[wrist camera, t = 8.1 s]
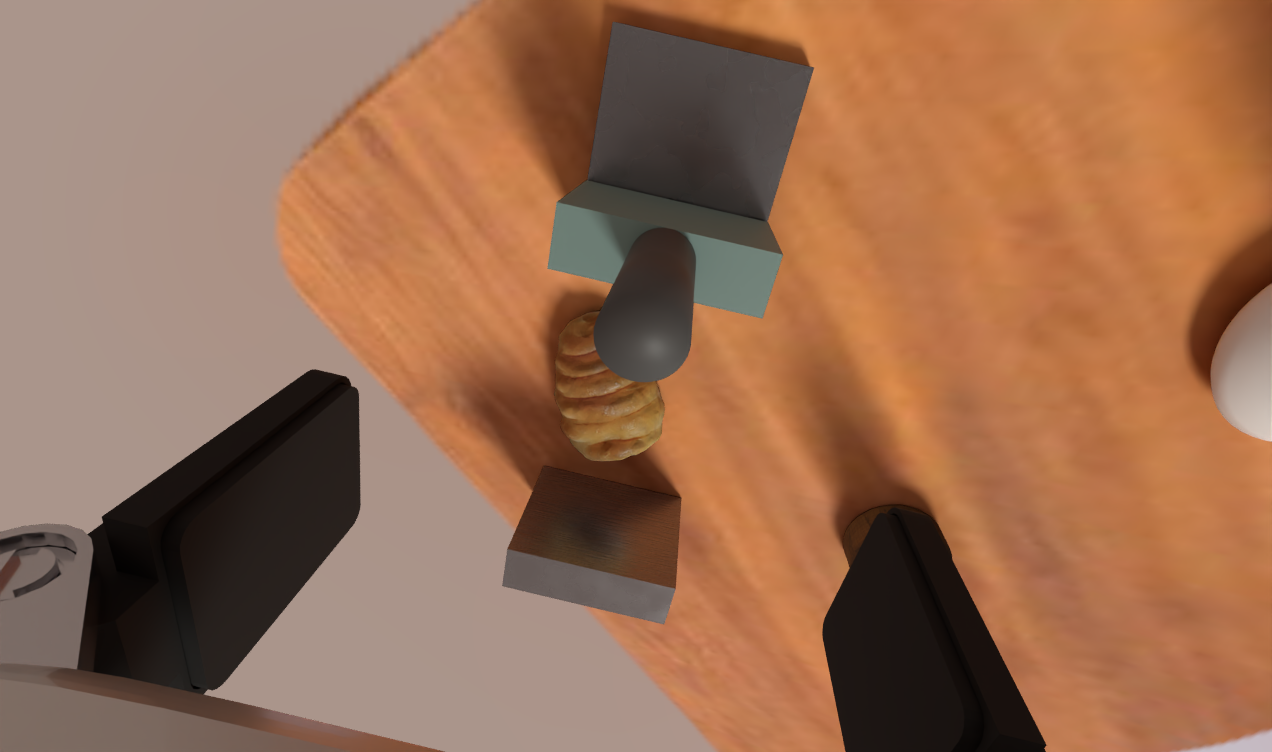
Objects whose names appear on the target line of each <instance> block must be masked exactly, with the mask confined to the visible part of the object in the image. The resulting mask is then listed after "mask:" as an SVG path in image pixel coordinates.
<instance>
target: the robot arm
mask: <svg viewBox="0 0 1272 752" xmlns="http://www.w3.org/2000/svg"><path fill="white" fill-rule="evenodd" d="M359 510H360V440H359V393H358V390H357V389H356V388H355V387H352V386H351V383H350V381H349V379H348V378H347V377H345V376H341V375H337V374H333V373H328V372H324V371H320V370H310V371H308V372H306V373H305V374H304V375H302V376H301V377H299V378H298V379H297V380H295V381H294V382H292V383H291V384H289V385H288V386H286V387H285V388H284V389H282V390H281V391H279V392H278V393H277V394H275V395H274V396H272V397H271V398H269V399H268V400H267V401H265V402H264V403H262V404H261V405H260V406H258V407H257V408H255V409H254V410H252V411H251V412H250V413H248V414H247V415H245V416H244V417H243V418H241V419H240V420H239V421H237V422H235V423H234V424H233V425H231V426H230V427H228V428H227V429H226V430H224V431H223V432H221V433H220V434H218V435H217V436H216V437H214V438H213V439H211V440H210V441H209V442H207V443H206V444H204V445H203V446H201V447H200V448H199V449H197V450H196V451H195V452H193V453H192V454H190V455H189V456H187V457H186V458H185V459H183V460H182V461H180V462H179V463H177V464H176V465H175V466H173V467H172V468H171V469H169V470H167V471H166V472H165V473H163V474H162V475H160V476H159V477H157V478H156V479H155V480H153V481H152V482H151V483H149V484H148V485H146V486H145V487H143V488H142V489H140V490H139V491H138V492H136V493H135V494H133V495H132V496H131V497H129V498H128V499H126V500H125V501H123V502H122V503H121V504H119V505H118V506H116V507H115V508H114V509H112V510H111V511H109V512H108V513H106V514H105V515H104V516H102V520H103V524H101V525H100V526H99V527H97V528H96V529H94V530H93V531H92V532H90V533H89V534H86V533H85V532H84V531H83V530H81V529H78V528H75V527H72V526H69V525H60V524H39V525H29V526H22V527H18V528H14V529H10V530H6V531H2V532H0V752H443V751H440V750H435V749H431V748H427V747H423V746H419V745H415V744H410V743H406V742H402V741H398V740H394V739H390V738H386V737H381V736H377V735H373V734H368V733H365V732H360V731H356V730H352V729H348V728H344V727H340V726H335V725H331V724H327V723H323V722H319V721H314V720H310V719H306V718H302V717H298V716H294V715H289V714H285V713H280V712H277V711H272V710H268V709H264V708H260V707H256V706H252V705H247V704H243V703H239V702H234V701H229V700H225V699H221V698H216V697H211V696H207V695H203V694H204V693H205V692H206V691H207V690H208V689H209V690H215V689H217V688H218V687H220V686H221V685H222V684H223V683H224V682H225V681H226V680H227V679H228V678H229V676H230V675H231V674H232V673H233V671H234V670H235V669H236V668H237V667H238V665H239V664H240V663H241V662H242V660H243V659H244V658H245V657H246V656H247V654H248V653H249V652H250V651H251V649H252V648H253V647H254V646H255V644H256V643H257V642H258V641H259V640H260V638H261V637H262V636H263V635H264V634H265V632H266V631H267V630H268V629H269V627H270V626H271V625H272V624H273V623H274V621H275V620H276V619H277V618H278V616H279V615H280V614H281V613H282V612H283V610H284V609H285V608H286V607H287V605H288V604H289V603H290V602H291V601H292V599H293V598H294V597H295V596H296V594H297V593H298V592H299V591H300V590H301V588H302V587H303V586H304V585H305V583H306V582H307V581H308V580H309V579H310V577H311V576H312V575H313V574H314V572H315V571H316V570H317V568H318V567H319V566H320V565H321V564H322V563H323V561H324V560H325V559H326V557H327V556H328V555H329V554H330V553H331V552H332V550H333V549H334V548H335V547H336V545H337V544H338V543H339V542H340V541H341V539H342V538H343V537H344V536H345V534H346V533H347V532H348V531H349V529H350V528H351V527H352V526H353V524H354V523H355V521H356V519H357V516H358V514H359ZM823 642H824V647H825V652H826V657H827V662H828V667H829V672H830V677H831V682H832V686H833V691H834V696H835V701H836V706H837V711H838V716H839V721H840V726H841V731H842V736H843V741H844V746H845V751H846V752H1046V751H1045V749H1044V748H1045V747H1046V743H1045V741H1044V739H1043V737H1042V735H1041V733H1040V731H1039V729H1038V727H1037V725H1036V724H1035V722H1034V720H1033V718H1032V716H1031V714H1030V712H1029V710H1028V708H1027V706H1026V704H1025V702H1024V700H1023V698H1022V696H1021V694H1020V692H1019V690H1018V688H1017V686H1016V684H1015V682H1014V680H1013V678H1012V676H1011V674H1010V672H1009V670H1008V668H1007V667H1006V665H1005V663H1004V661H1003V659H1002V657H1001V655H1000V653H999V651H998V649H997V647H996V645H995V643H994V641H993V639H992V637H991V635H990V633H989V631H988V629H987V627H986V625H985V623H984V621H983V619H982V617H981V615H980V613H979V611H978V610H977V608H976V606H975V604H974V602H973V600H972V598H971V596H970V594H969V592H968V590H967V588H966V586H965V584H964V582H963V580H962V578H961V576H960V574H959V572H958V570H957V568H956V566H955V564H954V562H953V560H952V558H951V556H950V555H949V553H948V551H947V549H946V547H945V545H944V543H943V541H942V539H941V537H940V535H939V533H938V531H937V529H936V527H935V525H934V523H933V521H932V519H931V518H930V517H929V516H928V515H926V514H922V513H918V512H913V511H909V510H905V509H901V508H896V507H894V508H891V509H890V510H889V511H888V512H887V513H879V514H878V515H877V516H876V518H875V519H874V521H873V523H872V525H871V527H870V529H869V531H868V533H867V535H866V537H865V539H864V541H863V543H862V545H861V547H860V549H859V551H858V553H857V555H856V557H855V559H854V561H853V563H852V565H851V567H850V569H849V571H848V573H847V575H846V577H845V579H844V581H843V583H842V585H841V587H840V589H839V591H838V593H837V595H836V597H835V599H834V601H833V603H832V605H831V607H830V609H829V611H828V613H827V614H826V617H825V619H824V623H823Z"/></svg>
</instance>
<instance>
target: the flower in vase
mask: <svg viewBox="0 0 1272 752" xmlns="http://www.w3.org/2000/svg"><path fill="white" fill-rule="evenodd" d="M1211 389H1212V394H1213V398H1214V401H1215V403H1216V406H1217V408H1218V410H1219V411H1220V413H1221V414H1222V415H1223V417H1224V418H1225V419H1226V420H1227V421H1228V422H1229V423H1230V424H1231V425H1232V426H1234V427H1235V428H1237V429H1238V430H1240V431H1241V432H1244V433H1246V434H1248V435H1250V436H1252V437H1256V438H1259V439H1262V440H1266V441H1271V442H1272V283H1271V284H1270V285H1268V286H1267V287H1265V288H1264V289H1263V290H1261V291H1260V292H1259V293H1258V294H1257V295H1256V296H1254V297H1253V298H1252V299H1251V300H1250V301H1249V302H1248V303H1247V304H1246V305H1245V306H1244V307H1243V308H1242V309H1241V310H1240V311H1239V312H1238V313H1237V315H1236V316H1235V317H1234V318H1233V320H1232V321H1231V322H1230V323H1229V325H1228V326H1227V328H1226V330H1225V331H1224V333H1223V334H1222V336H1221V338H1220V340H1219V342H1218V345H1217V347H1216V349H1215V353H1214V356H1213V359H1212V365H1211Z"/></svg>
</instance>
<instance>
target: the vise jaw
mask: <svg viewBox="0 0 1272 752" xmlns="http://www.w3.org/2000/svg"><path fill="white" fill-rule="evenodd" d="M782 256H783V253H782V251H781V249H780V247H779V245H778V243H777V241H776V238H775V236H774V234H773V232H772V230H771V228H770V225H769V223H768V222H765V221H761V220H757V219H752V218H748V217H744V216H739V215H735V214H731V213H726V212H722V211H718V210H713V209H709V208H705V207H700V206H696V205H692V204H687V203H683V202H679V201H674V200H670V199H666V198H662V197H657V196H653V195H649V194H644V193H640V192H636V191H631V190H627V189H623V188H618V187H614V186H610V185H605V184H601V183H597V182H592V181H588V180H586V181H585V182H583V183H582V184H581V185H579V186H578V187H577V188H575V189H574V190H573V191H571V192H570V193H569V194H567V195H566V196H564V197H563V198H562V199H560V200H559V201H558V202H557V204H556V212H555V219H554V226H553V233H552V240H551V247H550V254H549V261H548V269H552V270H556V271H560V272H565V273H569V274H573V275H577V276H582V277H586V278H590V279H595V280H599V281H603V282H608V283H612V284H613V286H612V288H611V290H610V292H609V294H608V296H607V298H606V300H605V302H604V304H603V307H602V309H601V311H600V313H599V315H598V317H597V319H596V322H595V326H594V333H593V334H594V344H595V348H596V351H597V353H598V355H599V357H600V359H601V360H602V362H603V363H604V364H605V365H606V366H607V367H608V368H609V369H610V370H611V371H612V372H614V373H615V374H617V375H618V376H620V377H622V378H625V379H627V380H631V381H635V382H653V381H658V380H661V379H664V378H666V377H668V376H670V375H671V374H673V373H674V372H675V371H676V370H678V369H679V368H680V367H681V365H682V364H683V363H684V361H685V360H686V358H687V356H688V353H689V350H690V346H691V335H692V319H693V304H694V303H698V304H702V305H706V306H711V307H715V308H719V309H724V310H728V311H732V312H736V313H741V314H745V315H749V316H754V317H758V318H763V315H764V312H765V309H766V306H767V303H768V300H769V296H770V293H771V290H772V287H773V284H774V281H775V278H776V275H777V272H778V269H779V266H780V262H781V259H782Z"/></svg>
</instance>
